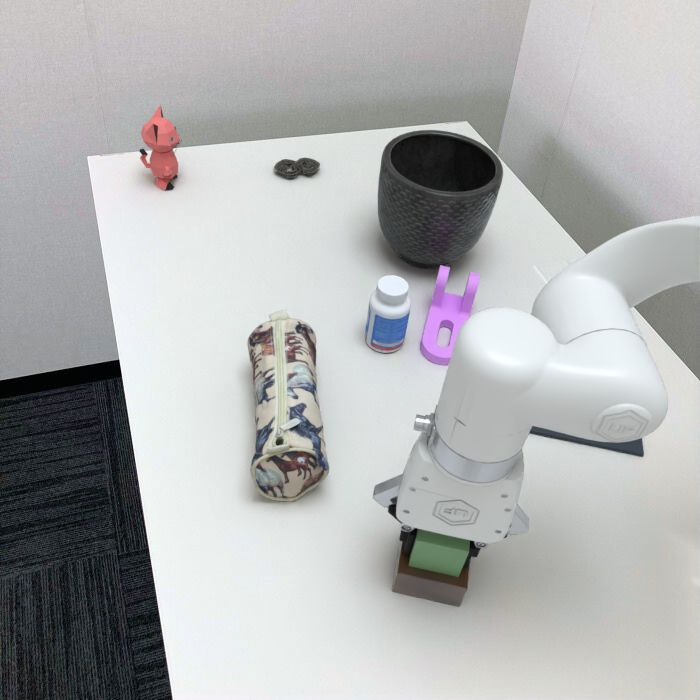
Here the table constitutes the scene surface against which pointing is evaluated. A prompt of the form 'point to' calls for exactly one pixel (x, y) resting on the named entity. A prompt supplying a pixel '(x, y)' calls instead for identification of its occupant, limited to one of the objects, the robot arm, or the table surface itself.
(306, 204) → the table surface
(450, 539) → the green cube
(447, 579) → the walnut base block
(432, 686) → the table surface
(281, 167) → the corroded twin loop
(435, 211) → the planter
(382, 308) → the pill bottle
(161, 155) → the cat figurine
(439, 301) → the bracket
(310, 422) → the pencil case
